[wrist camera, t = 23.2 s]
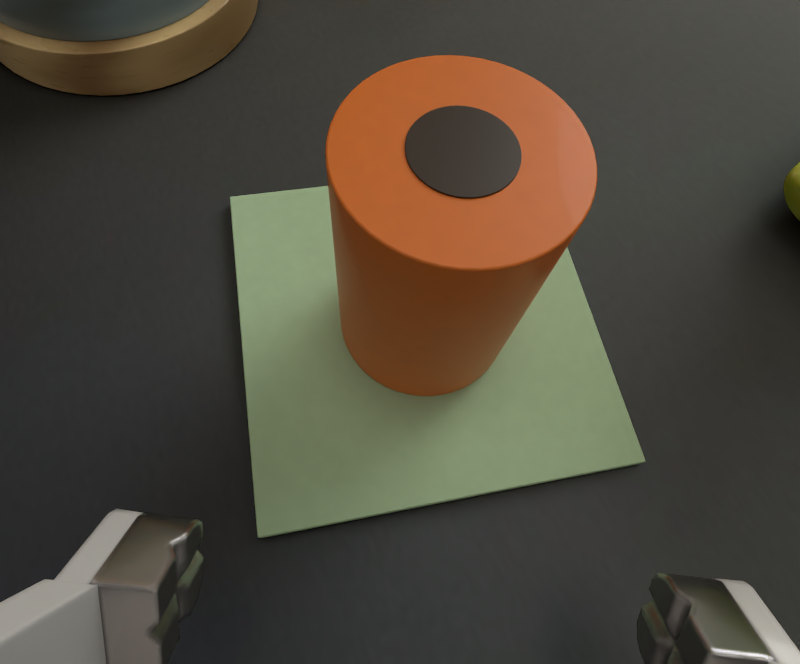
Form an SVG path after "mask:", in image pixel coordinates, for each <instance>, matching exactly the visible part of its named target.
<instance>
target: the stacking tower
mask: <svg viewBox="0 0 800 664" xmlns="http://www.w3.org/2000/svg"><path fill="white" fill-rule="evenodd" d="M257 5H258V0H0V62H1V63H2V64H4V65H5V66H6V67H8V68H9V69H10V70H12V71H13V72H14V73H16V74H18V75H20V76H22V77H23V78H25V79H27V80H29V81H31V82H34V83H36V84H39V85H42V86H44V87H47V88H51V89H55V90H59V91H62V92H68V93H75V94H81V95H98V96H107V95H125V94H133V93H141V92H146V91H150V90H155V89H159V88H163V87H166V86H169V85H172V84H175V83H178V82H181V81H183V80H186V79H188V78H190V77H192V76H195V75H197V74H199V73H200V72H202V71H204V70H206V69H208V68H209V67H211V66H213V65H214V64H215V63H217V62H218V61H220V60H221V59H222V58H224V57H225V56H226V55H227V54H228V53H229V52H231V51H232V50H233V49H234V48H235V47H236V46H237V45H238V43H239V42H240V41H241V40H242V39H243V37H244V36H245V35H246V33H247V31H248V30H249V28H250V26H251V24H252V22H253V19H254V17H255V14H256V11H257Z"/></svg>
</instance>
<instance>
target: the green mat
mask: <svg viewBox="0 0 800 664" xmlns="http://www.w3.org/2000/svg"><path fill="white" fill-rule="evenodd" d="M230 206H231V218H232V230H233V243H234V255H235V267H236V279H237V292H238V304H239V316H240V328H241V341H242V353H243V365H244V377H245V390H246V402H247V414H248V426H249V439H250V451H251V463H252V476H253V488H254V500H255V512H256V525H257V536H258V538H265V537H270V536H275V535H280V534H285V533H291V532H296V531H301V530H306V529H311V528H316V527H321V526H326V525H331V524H336V523H341V522H346V521H352V520H357V519H362V518H367V517H372V516H377V515H382V514H387V513H392V512H397V511H402V510H407V509H413V508H418V507H423V506H428V505H433V504H438V503H443V502H448V501H453V500H458V499H463V498H469V497H474V496H479V495H484V494H489V493H494V492H499V491H504V490H509V489H514V488H519V487H524V486H530V485H535V484H540V483H545V482H550V481H555V480H560V479H565V478H570V477H575V476H580V475H586V474H591V473H596V472H601V471H606V470H611V469H616V468H621V467H626V466H631V465H636V464H641V463H643V462H645V458H644V455H643V452H642V450H641V447H640V444H639V442H638V439H637V436H636V433H635V431H634V428H633V425H632V422H631V420H630V417H629V414H628V412H627V409H626V406H625V403H624V401H623V398H622V395H621V392H620V390H619V387H618V384H617V382H616V379H615V376H614V373H613V371H612V368H611V365H610V362H609V360H608V357H607V354H606V352H605V349H604V346H603V343H602V341H601V338H600V335H599V333H598V330H597V327H596V324H595V322H594V319H593V316H592V313H591V311H590V308H589V305H588V303H587V300H586V297H585V294H584V292H583V289H582V286H581V283H580V281H579V278H578V275H577V273H576V270H575V267H574V264H573V262H572V259H571V256H570V253H569V251H568V248H566V249H565V251H564V252H563V254H562V256H561V257H560V259H559V260H558V262H557V263H556V265H555V267H554V268H553V270H552V271H551V273H550V274H549V276H548V278H547V279H546V281H545V282H544V284H543V285H542V287H541V288H540V290H539V292H538V293H537V295H536V296H535V298H534V299H533V301H532V303H531V304H530V306H529V307H528V309H527V310H526V312H525V314H524V315H523V317H522V318H521V320H520V321H519V323H518V324H517V326H516V328H515V329H514V331H513V332H512V334H511V335H510V337H509V339H508V340H507V342H506V343H505V345H504V346H503V348H502V349H501V351H500V353H499V354H498V356H497V357H496V359H495V360H494V362H493V363H492V365H491V366H490V367H489V369H488V370H487V371H486V372H485V373H484V374H483V375H482V376H481V377H480V378H478V379H477V380H476V381H474V382H473V383H471V384H470V385H468V386H466V387H464V388H462V389H460V390H457V391H454V392H452V393H447V394H443V395H436V396H416V395H409V394H405V393H401V392H398V391H395V390H393V389H390V388H388V387H386V386H384V385H382V384H380V383H379V382H377V381H375V380H374V379H373V378H371V377H370V376H369V375H368V374H366V373H365V372H364V371H363V370H362V369H361V368H360V367H359V365H358V364H357V363H356V361H355V360H354V359H353V357H352V356H351V354H350V352H349V350H348V348H347V346H346V343H345V341H344V338H343V334H342V329H341V319H340V308H339V298H338V287H337V276H336V265H335V254H334V244H333V233H332V222H331V211H330V201H329V190H328V186H323V187H314V188H305V189H296V190H288V191H279V192H270V193H261V194H252V195H243V196H234V197H230Z"/></svg>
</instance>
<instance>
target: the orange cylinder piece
mask: <svg viewBox="0 0 800 664" xmlns="http://www.w3.org/2000/svg"><path fill="white" fill-rule="evenodd" d="M325 157H326V168H327V179H328V190H329V201H330V211H331V222H332V233H333V244H334V254H335V265H336V276H337V287H338V298H339V308H340V319H341V329H342V334H343V338H344V341H345V343H346V346H347V348H348V350H349V352H350V354H351V356H352V357H353V359H354V360H355V361H356V363H357V364H358V365H359V367H360V368H361V369H362V370H363V371H364V372H365V373H366V374H368V375H369V376H370V377H371V378H373V379H374V380H375V381H377V382H379V383H380V384H382V385H384V386H386V387H388V388H390V389H393V390H395V391H398V392H401V393H405V394H409V395H416V396H436V395H443V394H447V393H452V392H454V391H457V390H460V389H462V388H464V387H466V386H468V385H470V384H471V383H473V382H474V381H476V380H477V379H478V378H480V377H481V376H482V375H483V374H484V373H485V372H486V371H487V370H488V369H489V367H490V366H491V365H492V363H493V362H494V360H495V359H496V357H497V356H498V354H499V353H500V351H501V349H502V348H503V346H504V345H505V343H506V342H507V340H508V339H509V337H510V335H511V334H512V332H513V331H514V329H515V328H516V326H517V324H518V323H519V321H520V320H521V318H522V317H523V315H524V314H525V312H526V310H527V309H528V307H529V306H530V304H531V303H532V301H533V299H534V298H535V296H536V295H537V293H538V292H539V290H540V288H541V287H542V285H543V284H544V282H545V281H546V279H547V278H548V276H549V274H550V273H551V271H552V270H553V268H554V267H555V265H556V263H557V262H558V260H559V259H560V257H561V256H562V254H563V252H564V251H565V249H566V248H567V246H568V245H569V243H570V242H571V240H572V238H573V237H574V235H575V234H576V232H577V231H578V229H579V227H580V226H581V224H582V223H583V221H584V219H585V218H586V216H587V214H588V212H589V210H590V208H591V205H592V202H593V199H594V196H595V192H596V185H597V163H596V157H595V152H594V149H593V146H592V143H591V140H590V137H589V135H588V133H587V131H586V130H585V128H584V126H583V124H582V123H581V121H580V120H579V118H578V117H577V115H576V114H575V113H574V111H573V110H572V109H571V108H570V107H569V106H568V105H567V104H566V102H565V101H564V100H562V99H561V98H560V97H559V96H558V95H557V94H556V93H555V92H554V91H552V90H551V89H549V88H548V87H547V86H545V85H544V84H542V83H541V82H539V81H538V80H536V79H534V78H533V77H531V76H529V75H527V74H525V73H523V72H521V71H519V70H516V69H514V68H512V67H509V66H506V65H503V64H500V63H497V62H493V61H489V60H485V59H481V58H475V57H468V56H455V55H441V56H428V57H421V58H415V59H411V60H407V61H403V62H400V63H397V64H394V65H392V66H389V67H387V68H385V69H383V70H381V71H379V72H376V73H375V74H373V75H372V76H370V77H369V78H367V79H365V80H364V81H363V82H361V83H360V84H359V85H358V86H357V87H356V88H354V89H353V90H352V91H351V92H350V94H349V95H348V96H347V97H346V98H345V99H344V100H343V102H342V103H341V105H340V107H339V108H338V110H337V111H336V113H335V115H334V117H333V120H332V122H331V124H330V127H329V131H328V135H327V139H326V149H325Z"/></svg>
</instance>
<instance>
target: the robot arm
mask: <svg viewBox="0 0 800 664" xmlns="http://www.w3.org/2000/svg"><path fill="white" fill-rule="evenodd" d="M202 540H203V523H202V522H201V521H200V520H196V519H189V518H182V517H175V516H168V515H161V514H154V513H147V512H144V513H141V512H135V511H128V510H121V509H115V510H113V511H111V512H109V513H108V514H107V515H106V516H105V517H104V519H103V520H102V521H101V522H100V524H99V525H98V526H97V527H96V528H95V530H94V531H93V532H92V533H91V535H90V536H89V537H88V538H87V540H86V541H85V542H84V543H83V544H82V546H81V547H80V548H79V549H78V551H77V552H76V553H75V554H74V556H73V557H72V558H71V559H70V560H69V562H68V563H67V564H66V565H65V567H64V568H63V569H62V570H61V572H60V573H59V574H58V575H57V576H56V578H55V579H54V580H47V579H44V580H42V581H40V582H38V583H36V584H34V585H32V586H31V587H29V588H27V589H25V590H23V591H21V592H19V593H17V594H15V595H14V596H12V597H10V598H8V599H6V600H4V601H2V602H0V664H167V663H168V661H169V659H170V657H171V655H172V653H173V651H174V648H175V646H176V644H177V642H178V640H179V623H180V622H181V621H182V620H184V619H185V618H187V617H188V616H189V615H190V614H191V612H192V610H193V608H194V606H195V603H196V601H197V598H198V595H199V591H200V588H201V584H202V580H203V572H204V557H203V556H202V555H201V554H200V552H199V551H198V550H197V549H198V547H199V545H200V543H201V542H202ZM649 591H650V593H651V595H652V597H653V600H652V601H650V602H649V603H647V604H646V605H645V606H643V607H642V608H641V611H640V614H639V617H638V620H637V641H638V645H639V650H640V653H641V656H642V658H643V661H644V663H645V664H800V651H799V650H798V649H797V647H796V646H795V644H794V643H793V642H792V640H791V639H790V638H789V636H788V635H787V634H786V632H785V631H784V629H783V628H782V627H781V625H780V624H779V623H778V621H777V620H776V619H775V617H774V616H773V614H772V613H771V612H770V610H769V609H768V608H767V606H766V605H765V604H764V602H763V601H762V600H761V598H760V597H759V595H758V594H757V593H756V591H755V590H754V589H753V587H751V586H750V585H749V584H747V583H746V582H744V581H737V580H727V579H717V578H715V579H712V578H704V577H695V576H686V575H676V574H667V573H658V574H657V575H656V576H655V577H654V578H653V579H652V582H651V584H650V587H649Z"/></svg>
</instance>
